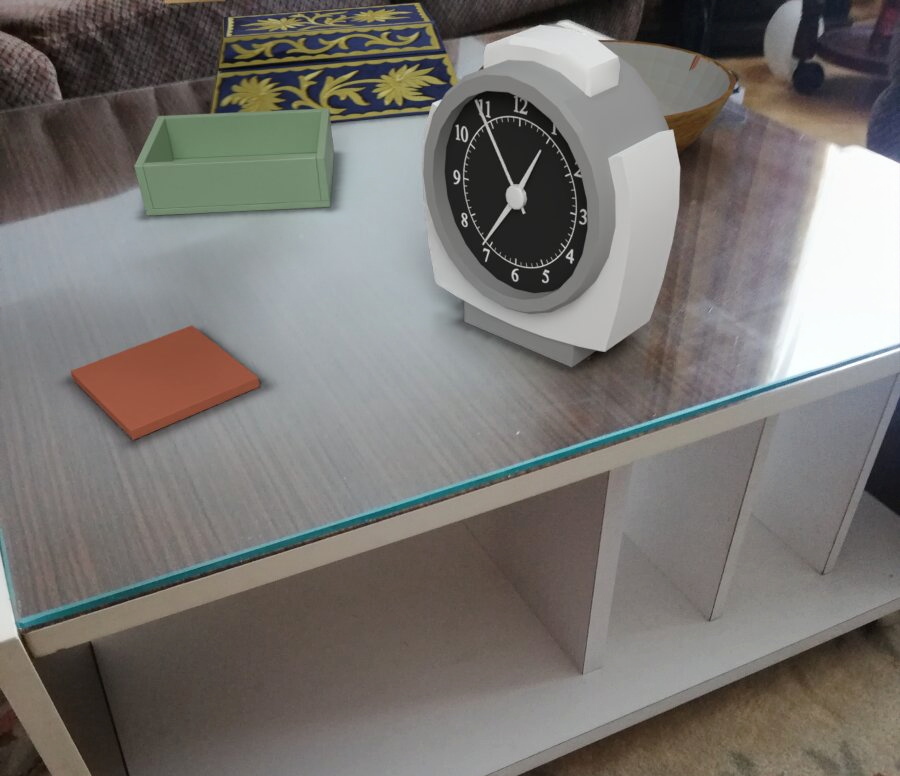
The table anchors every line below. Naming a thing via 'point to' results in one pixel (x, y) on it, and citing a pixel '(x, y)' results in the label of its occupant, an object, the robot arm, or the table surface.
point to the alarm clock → (551, 194)
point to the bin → (237, 162)
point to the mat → (164, 381)
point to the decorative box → (333, 62)
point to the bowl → (679, 85)
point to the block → (189, 1)
